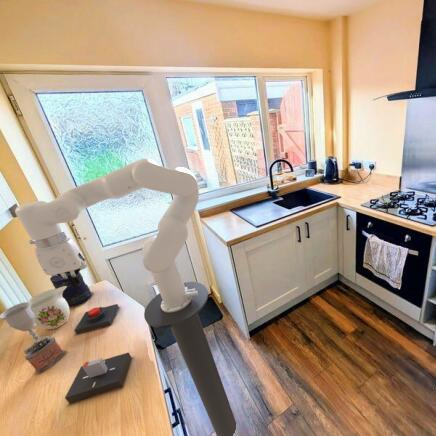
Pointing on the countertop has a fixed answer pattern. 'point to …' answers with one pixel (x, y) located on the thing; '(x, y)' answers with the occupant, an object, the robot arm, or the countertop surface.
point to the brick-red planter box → (43, 353)
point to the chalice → (21, 318)
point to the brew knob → (95, 368)
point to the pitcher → (49, 309)
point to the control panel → (100, 379)
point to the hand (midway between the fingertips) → (77, 284)
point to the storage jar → (72, 291)
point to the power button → (94, 312)
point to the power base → (97, 319)
